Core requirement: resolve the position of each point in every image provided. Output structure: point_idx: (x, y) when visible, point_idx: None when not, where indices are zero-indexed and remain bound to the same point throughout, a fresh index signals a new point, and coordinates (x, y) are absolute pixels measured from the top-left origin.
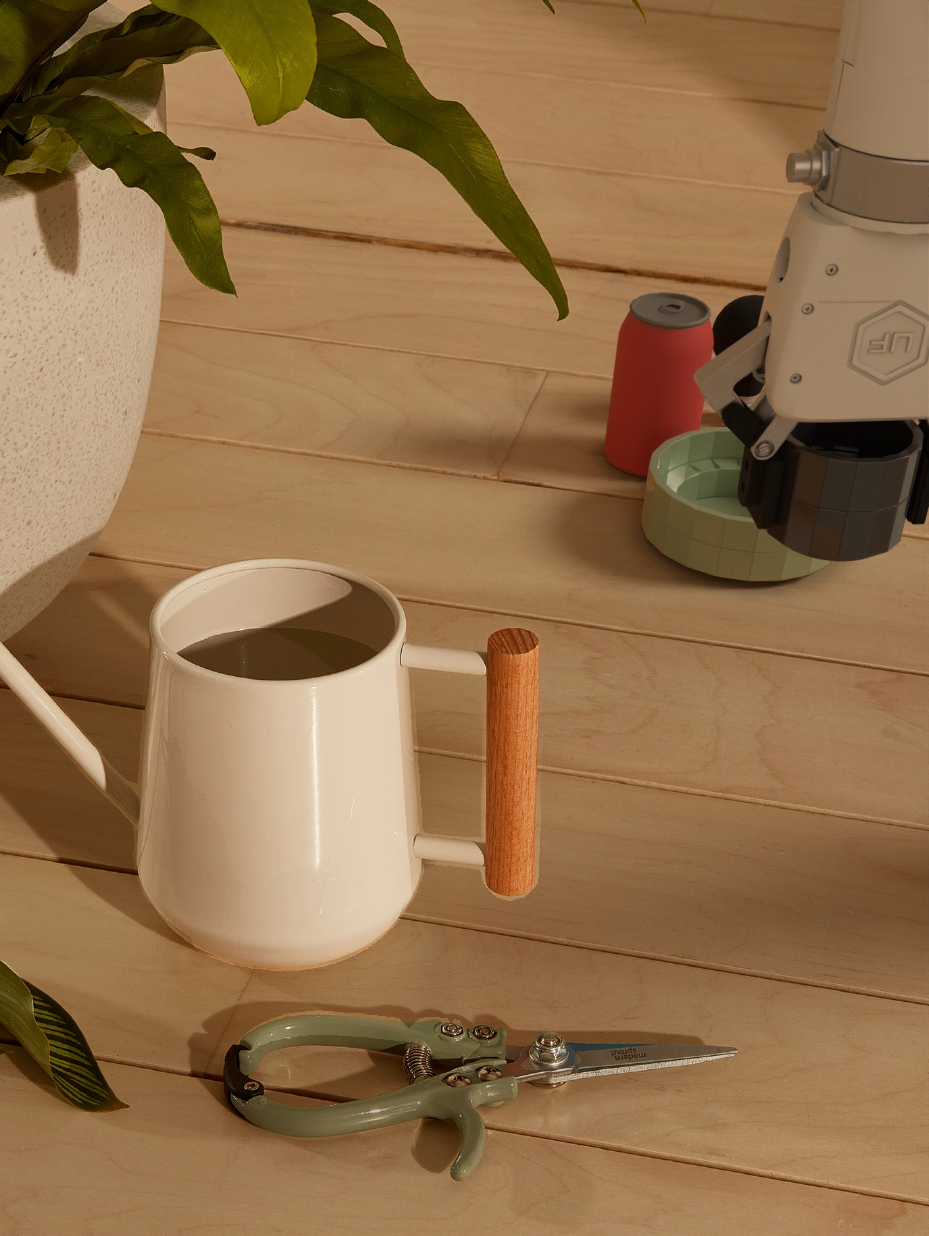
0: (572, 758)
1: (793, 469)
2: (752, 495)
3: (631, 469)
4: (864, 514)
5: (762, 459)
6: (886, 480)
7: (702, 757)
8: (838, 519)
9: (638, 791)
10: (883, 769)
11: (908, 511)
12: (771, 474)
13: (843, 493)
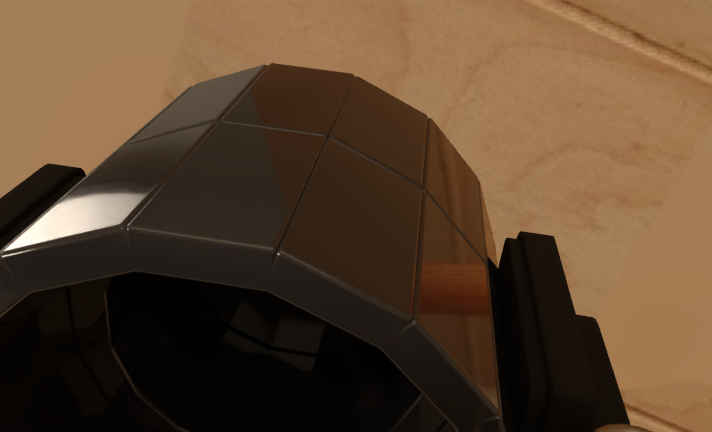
0: (684, 104)
1: (499, 357)
2: (584, 333)
3: None
4: (260, 122)
5: (634, 427)
6: (145, 181)
7: (490, 74)
8: (354, 136)
9: (623, 11)
10: (242, 4)
11: None
12: (584, 359)
13: (341, 182)
